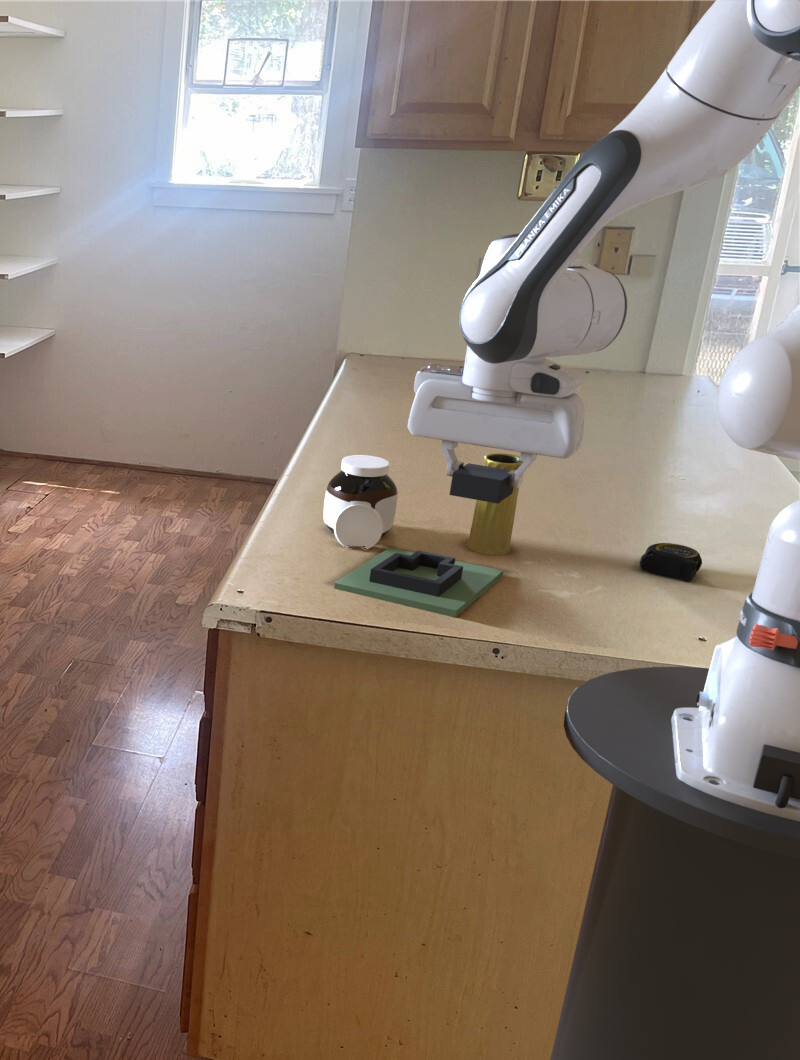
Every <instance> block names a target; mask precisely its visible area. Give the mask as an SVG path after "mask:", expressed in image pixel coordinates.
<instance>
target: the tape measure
mask: <svg viewBox="0 0 800 1060" xmlns="http://www.w3.org/2000/svg"><path fill="white" fill-rule="evenodd" d="M702 565H703V559H702V556H701V554H700V552H698V551H697V549H694V548H692V547H690V546H687V545H683V544H678V543H671V542H657V543H654V544H651V545H649V546H648V547H647V548H646V550H645V553H643V554H642V555H641V557H640V560H639V568H640V569H641V570H642V571H643V572H645V573H648V574H652V575H656V576H660V577H664V578H668V579H674V580H678V581H683V582H686V583H687V582H689V583H691V582H692V581H693V579H694V577H695V576H696V575H697V573H698V572H699V570H700V569H701V568H702Z"/></svg>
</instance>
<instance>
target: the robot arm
mask: <svg viewBox="0 0 800 1060" xmlns="http://www.w3.org/2000/svg"><path fill="white" fill-rule="evenodd" d="M799 88H800V0H715V1H714V2H713V4H712V5H711V6H710V7H709V8H708V9H707V10H706V12H705V13H704V14H703V15H702V16H701V18H700V20H699V21H698V22H697V23H696V24H695V26H694V27H693V28H692V30H691V31H690V32H689V34H688V35H687V36H686V38H685V39H684V40H683V42H682V44H681V45H680V46H679V48H678V49H677V51H676V52H675V54H674V55H673V57H672V58H671V60H670V61H669V63H668V64H667V66H666V67H665V69H664V70H663V72H662V74H661V75H659V78H657V80H656V82H655V83H654V84H653V86H652V87H651V88H650V89H649V90H648V92H647V93H646V94H645V96H644V97H643V98H642V99H640V101H639V103H638V104H636V106H635V107H634V108H633V109H632V110H631V111H630V112H629V113H628V114H627V115H626V116H625V118H623V119H622V120H621V121H620V122H619V123H618V124H617V125H616V126H615V127H614V128H613V129H611V130H610V131H609V132H608V133H607V134H605V135H604V136H602V137H601V138H600V139H599V140H597V141H596V142H595V143H594V144H593V145H591V146H590V147H589V148H588V149H587V150H586V151H585V152H584V154H582V155H581V156H580V158H579V159H578V160H577V161H576V162H575V163H574V165H572V167H571V168H570V169H569V170H568V172H567V173H566V174H565V175H564V177H563V178H562V179H561V181H560V182H559V183H558V184H557V185H556V187H555V188H554V190H553V191H552V192H551V193H550V195H549V196H548V197H547V199H546V200H545V201H544V202H543V204H542V205H541V206H540V207H539V208H538V210H537V211H536V213H535V214H534V215H533V217H532V218H531V219H530V220H529V222H528V223H527V225H525V227H524V228H523V229H522V231H521V232H520V233H519V232H518V233H512V234H507V235H502V236H499V237H498V238H496V239H495V240H493V241H492V242H491V243H490V245H489V246H488V249H487V251H486V253H485V256H484V257H483V261H482V264H481V267H480V271H479V276H478V277H477V278H476V279H475V280H474V282H473V283H472V285H470V287H469V288H468V290H467V292H466V293H465V295H464V298H463V299H462V302H461V305H460V308H459V314H458V323H459V324H458V325H459V328H460V333H461V335H462V338H463V340H464V342H465V343H466V345H467V346H466V351H465V352H466V353H465V356H464V357H465V358H464V363H463V364H464V365H463V366H462V365H444V364H440V363H429V364H428V365H425V366H423V367H421V368H420V369H419V370H418V371H417V372H416V373H415V378H414V382H413V383H414V384H413V391H414V394H415V395H414V399H413V401H412V405H411V408H410V411H409V416H408V420H407V429H408V431H409V433H410V434H411V435H412V437H413V436H414V437H419V438H427V439H433V440H439V441H441V445H440V450H441V452H442V454H443V456H444V458H445V461H446V463H447V466H446V473H445V474H446V477H452V475H453V472H454V471H456V470H458V469H460V468H461V467H463V466H465V462H464V461H460V460H458V457H457V454H456V452H455V448H457V447H459V446H458V445H459V444H465V445H472V446H477V447H485V448H491V449H496V450H497V449H498V450H505V451H511V452H517V453H520V456H519V457H520V461H524V463H523V464H522V465H521V466H520V467H519V468H518V470H517V471H516V470H511V471H510V472H508V473H507V479H508V480H507V483H506V485H507V486H511V487H516V488H518V487H519V488H520V487H521V485H522V483H523V478H524V473H525V472H526V471H527V470H528V469H529V468H530V467H531V466H532V465H533V464H534V463H535V461H536V460H537V456H544V457H550V458H556V459H563V460H567V459H569V458H570V457H572V456H575V454H577V453H578V452H579V451H580V450H581V447H582V442H583V439H584V438H583V436H584V429H585V411H586V410H585V403H584V401H583V399H582V397H581V396H580V394H578V393H577V392H579V391H580V389H582V386H583V383H584V376H583V374H582V373H580V372H579V371H576V370H574V369H571V368H569V367H567V366H565V365H562V364H560V363H558V362H555V361H553V360H551V359H549V358H556V357H563V356H564V357H565V356H581V355H588V354H591V353H596V352H599V351H602V350H604V349H606V348H607V347H609V346H610V345H611V344H612V343H613V342H614V341H615V340H616V338H617V337H618V336H619V334H620V333H621V331H622V329H623V327H624V324H625V321H626V318H627V314H628V296H627V292H626V289H625V288H624V287H625V286H624V285H623V284H622V282H621V280H620V279H619V278H618V277H617V275H615V274H614V273H612V272H611V271H608V270H603V269H600V268H598V267H596V266H594V265H592V264H590V263H588V262H586V261H584V260H582V259H581V258H579V257H578V256H579V255H580V254H581V253H582V252H583V251H584V249H585V248H586V247H587V246H588V244H589V243H590V242H591V241H592V239H593V238H594V237H595V236H596V235H597V234H598V232H599V231H601V229H603V228H604V227H605V226H606V225H607V224H608V223H610V222H611V221H612V220H614V219H616V218H617V217H619V216H620V215H622V214H623V213H626V212H627V211H629V210H632V209H634V208H636V207H638V206H640V205H643V204H647V203H648V202H650V201H653V200H656V199H659V198H662V197H665V196H669V195H672V194H676V193H678V192H682V191H686V190H688V189H693V188H696V187H700V186H703V185H706V184H708V183H711V182H713V181H715V180H717V179H720V178H721V177H723V176H725V175H726V174H728V173H729V172H731V171H732V170H733V169H734V168H735V167H736V166H738V164H739V163H740V162H742V161H743V160H744V159H745V158H746V157H747V156H749V154H751V152H753V150H754V149H755V148H756V146H757V145H758V144H759V143H760V142H761V141H762V139H764V137H765V136H766V134H767V133H768V132H769V131H770V129H771V127H772V126H773V124H774V123H775V122H776V120H778V118H779V117H780V115H781V114H782V113H783V111H784V110H785V108H786V107H787V105H788V104H789V103H790V101H791V100H792V99H793V97H794V95H796V92H797V91H798V90H799ZM721 375H722V376H721V378H720V380H719V384H718V387H717V394H716V407H717V408H716V409H717V413H718V418H719V421H720V424H721V425H722V427H723V429H724V431H725V433H726V435H727V436H728V438H730V440H731V441H732V442H733V443H734V444H736V445H737V446H739V447H741V448H743V449H746V450H749V451H750V450H751V451H753V452H759V453H764V454H767V455H771V456H776V457H780V458H781V457H782V458H787V459H791V460H797V461H799V460H800V303H798V304H797V306H795V308H793V310H792V311H790V313H788V315H787V316H785V317H784V318H783V319H781V321H780V322H779V323H777V324H776V325H775V326H773V327H772V328H770V329H769V330H768V331H766V332H764V333H763V334H761V335H759V336H758V337H757V338H755V339H753V340H751V341H750V342H748V343H747V344H746V345H744V346H743V347H742V348H741V349H740V350H739V351H738V352H737V353H736V354H735V355H734V357H733V358H732V359H731V360H730V361H729V363H728V364H727V366H726V367H725V370H724V371H723V373H722V374H721ZM760 559H761V560H760V563H759V567H758V571H757V575H756V579H755V582H754V586H753V589H752V592H750V593H748V594H747V595H746V597H745V600H744V603H743V605H742V606H741V608H740V612H739V615H738V616H739V620H738V624H737V628H736V635H735V636H734V637H733V638H731V639H728V640H726V641H724V642H722V643H719V644H717V645H716V646H715V648H714V650H713V654H712V658H711V661H710V665H709V672H708V676H707V680H706V684H705V687H704V691H703V692H700V693H699V694H697V698H696V702H697V705H698V706H699V708H677V709H675V710H674V713H673V716H672V718H671V722H672V733H673V744H674V755H675V766H676V775H677V778H678V779H679V780H681V781H683V782H684V783H686V784H688V785H690V786H692V787H694V788H696V789H698V790H700V791H702V792H705V793H707V794H710V795H712V796H715V797H717V798H720V799H723V800H725V801H728V802H731V803H734V804H737V805H740V806H744V807H747V808H750V809H754V810H757V811H760V812H764V813H767V814H771V815H775V816H778V817H782V818H786V819H790V820H794V821H798V822H800V499H797V500H795V501H793V502H791V503H790V504H788V505H786V506H785V507H784V508H783V509H782V510H781V511H780V512H779V513H778V514H777V515H776V516H775V517H774V519H773V520H772V522H771V524H770V527H769V529H768V533H767V536H766V539H765V544H764V548H763V552H762V555H761V558H760Z"/></svg>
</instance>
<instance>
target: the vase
mask: <svg viewBox="0 0 800 1060" xmlns="http://www.w3.org/2000/svg"><path fill="white" fill-rule="evenodd" d="M523 463H524V461H520V456H519V455H515V454H510V453H495V452H494V453H488V454H486V455H484V460H483V464H482V465H483V466H489V467H495V468H501V469H507V470H516V471H517V470H518V468H519V467H520V466H521V465H522V464H523ZM519 491H520V487H518V488H516V487H514V488H513V493H512V494H511V495H510V496H508V497H507V498H505V499H504V500H503V501H501V502H500V503H498V504H497V503H491V502H486V501H480V500H475V506H474V510H473V516H472V522H471V527H470V531H469V535H468V540H467V543H466V547H467V548H468V549H469V550H471V551H473V552H476V553H478V554H479V553H480V554H482V555H483V554H484V555H492V556H499V555H506V554H508V553H510V552H511V542H512V535H513V529H514V523H515V516H516V509H517V502H518V496H519V493H520V492H519Z"/></svg>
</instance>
